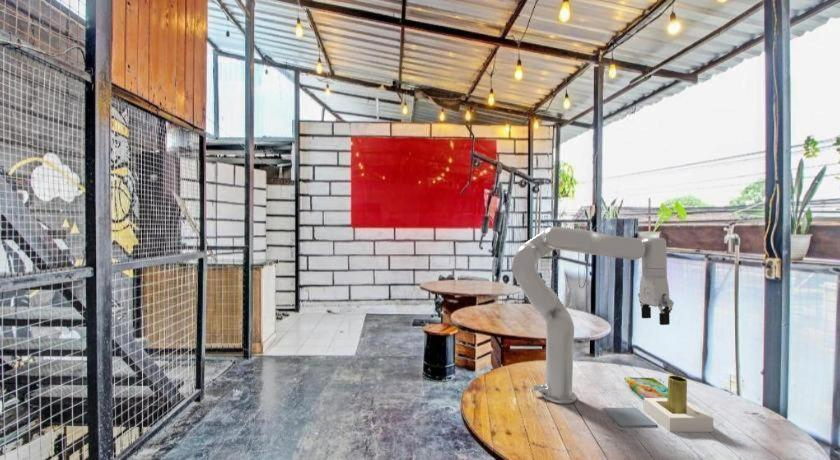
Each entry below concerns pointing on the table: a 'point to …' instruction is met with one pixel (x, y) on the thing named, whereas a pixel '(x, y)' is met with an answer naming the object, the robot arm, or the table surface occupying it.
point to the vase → (677, 395)
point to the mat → (629, 417)
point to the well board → (678, 417)
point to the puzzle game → (647, 387)
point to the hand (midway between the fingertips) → (655, 321)
